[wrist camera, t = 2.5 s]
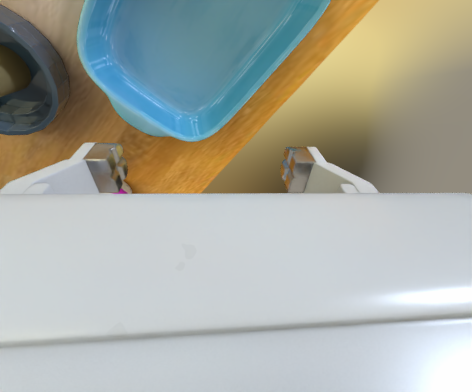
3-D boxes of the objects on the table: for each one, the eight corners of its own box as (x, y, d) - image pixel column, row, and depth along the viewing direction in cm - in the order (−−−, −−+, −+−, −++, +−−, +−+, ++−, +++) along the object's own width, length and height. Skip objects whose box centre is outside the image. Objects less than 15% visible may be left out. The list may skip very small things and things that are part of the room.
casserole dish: (237, -307, 19) (262, -414, 14) (346, -40, 32) (379, -45, 27) (66, 62, 33) (48, 76, 28) (190, 144, 46) (193, 164, 41)
